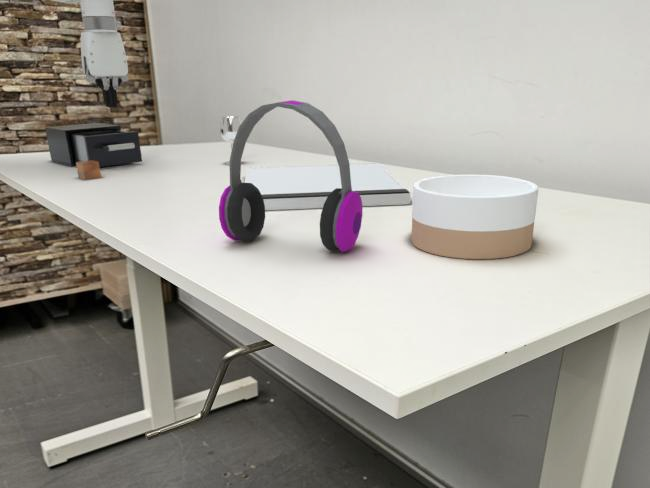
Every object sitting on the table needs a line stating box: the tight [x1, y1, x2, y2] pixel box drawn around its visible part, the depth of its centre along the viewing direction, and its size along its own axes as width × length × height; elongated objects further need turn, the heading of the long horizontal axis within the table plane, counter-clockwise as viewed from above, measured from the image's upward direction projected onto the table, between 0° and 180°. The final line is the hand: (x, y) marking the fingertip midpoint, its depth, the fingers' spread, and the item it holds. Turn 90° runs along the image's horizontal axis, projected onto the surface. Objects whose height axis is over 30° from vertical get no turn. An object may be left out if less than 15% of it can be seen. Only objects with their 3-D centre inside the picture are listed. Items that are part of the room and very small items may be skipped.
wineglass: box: [219, 115, 243, 166], centre depth 160 cm, size 6×6×12 cm
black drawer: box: [69, 130, 143, 168], centre depth 162 cm, size 18×14×8 cm
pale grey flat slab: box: [243, 162, 412, 211], centre depth 127 cm, size 35×2×31 cm
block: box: [75, 160, 102, 181], centre depth 146 cm, size 4×4×4 cm
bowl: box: [411, 174, 539, 260], centre depth 87 cm, size 17×17×8 cm
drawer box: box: [44, 122, 122, 168], centre depth 172 cm, size 15×16×10 cm
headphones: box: [218, 99, 364, 253], centre depth 85 cm, size 21×9×20 cm, turn 66°
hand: (111, 106), depth 153 cm, fingers closed
